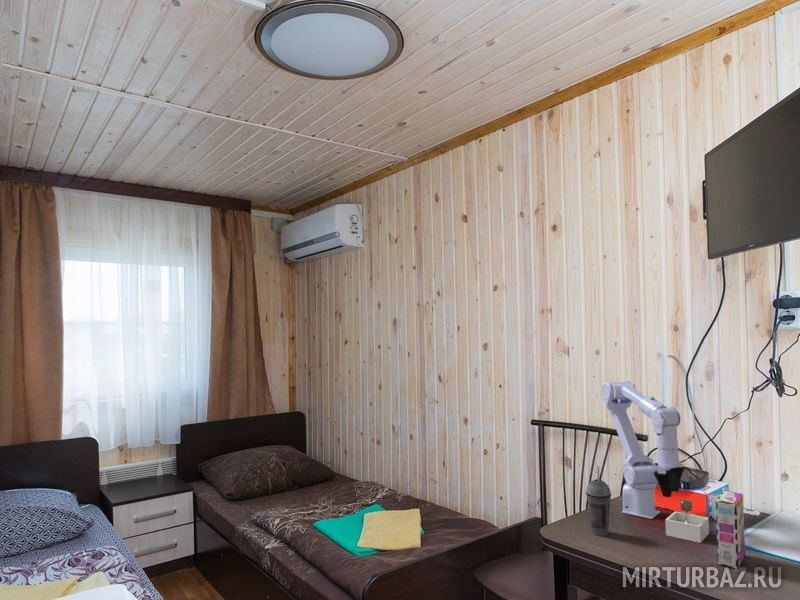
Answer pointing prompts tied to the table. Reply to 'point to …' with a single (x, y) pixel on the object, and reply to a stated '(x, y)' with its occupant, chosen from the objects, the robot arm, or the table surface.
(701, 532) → the white framed panel box
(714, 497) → the skincare box
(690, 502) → the plunger
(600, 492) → the beverage cup
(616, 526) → the table surface
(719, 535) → the pink printed carton
